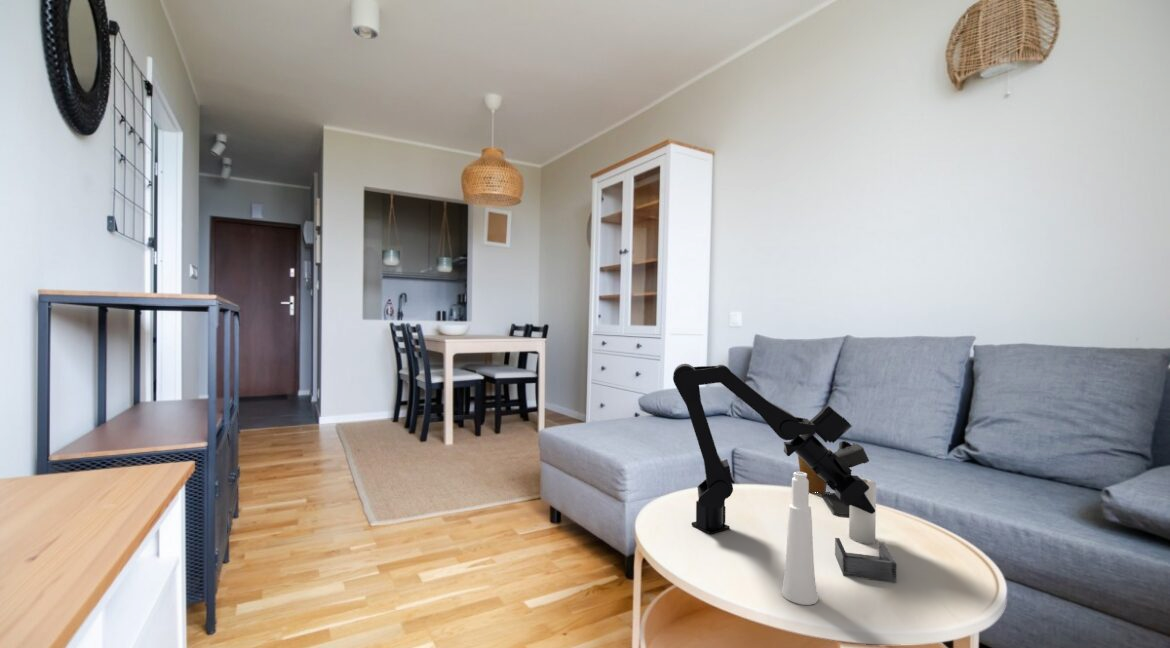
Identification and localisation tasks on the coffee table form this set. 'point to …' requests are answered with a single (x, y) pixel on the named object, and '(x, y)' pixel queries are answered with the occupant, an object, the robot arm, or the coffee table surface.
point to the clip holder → (866, 564)
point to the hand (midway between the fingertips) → (869, 507)
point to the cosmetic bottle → (800, 546)
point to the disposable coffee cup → (812, 478)
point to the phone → (836, 505)
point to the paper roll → (863, 518)
